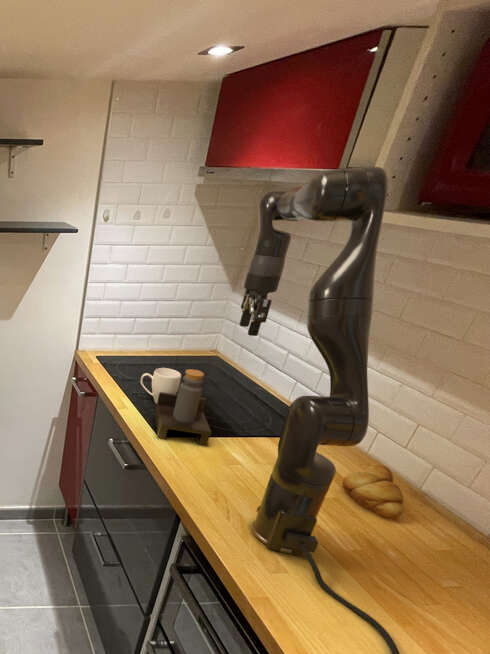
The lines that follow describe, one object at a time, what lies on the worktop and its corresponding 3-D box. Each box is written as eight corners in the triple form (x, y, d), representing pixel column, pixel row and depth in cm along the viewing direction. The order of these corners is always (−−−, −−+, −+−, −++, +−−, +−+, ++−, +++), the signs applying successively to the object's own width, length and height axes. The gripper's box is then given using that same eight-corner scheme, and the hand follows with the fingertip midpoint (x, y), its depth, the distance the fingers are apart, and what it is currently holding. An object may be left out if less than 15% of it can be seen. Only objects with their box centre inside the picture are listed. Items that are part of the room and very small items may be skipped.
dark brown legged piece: (207, 447, 127) (215, 419, 124) (158, 439, 131) (164, 412, 127) (198, 424, 139) (205, 398, 136) (153, 417, 143) (159, 391, 139)
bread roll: (411, 525, 99) (427, 496, 96) (361, 518, 101) (375, 489, 98) (375, 489, 111) (388, 462, 108) (331, 483, 113) (342, 456, 110)
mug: (173, 400, 155) (180, 369, 150) (175, 410, 148) (182, 379, 143) (137, 394, 159) (142, 364, 154) (136, 403, 152) (142, 373, 147)
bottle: (196, 424, 129) (209, 377, 123) (175, 422, 130) (186, 375, 124) (191, 414, 134) (202, 369, 128) (170, 412, 135) (181, 367, 129)
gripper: (241, 266, 125) (226, 322, 131) (256, 276, 112) (239, 337, 118) (272, 268, 123) (255, 324, 129) (290, 278, 110) (271, 340, 116)
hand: (247, 330), depth 124 cm, fingers open, 8 cm apart
